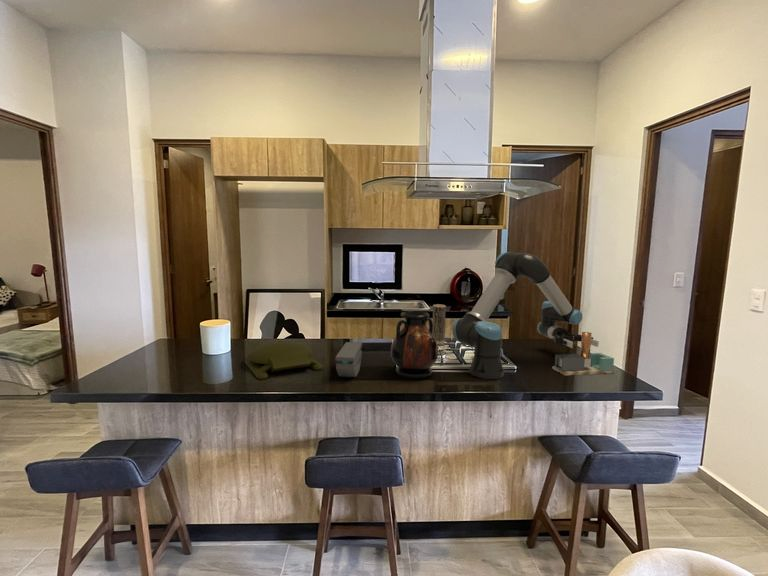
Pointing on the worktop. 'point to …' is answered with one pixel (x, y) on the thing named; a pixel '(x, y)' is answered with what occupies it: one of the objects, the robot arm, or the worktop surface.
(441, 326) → the wooden log
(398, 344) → the amphora vase
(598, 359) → the socket
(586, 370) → the base board
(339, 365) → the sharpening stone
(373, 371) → the worktop surface
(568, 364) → the sleeve
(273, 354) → the olive folded cloth
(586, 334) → the slip bolt
